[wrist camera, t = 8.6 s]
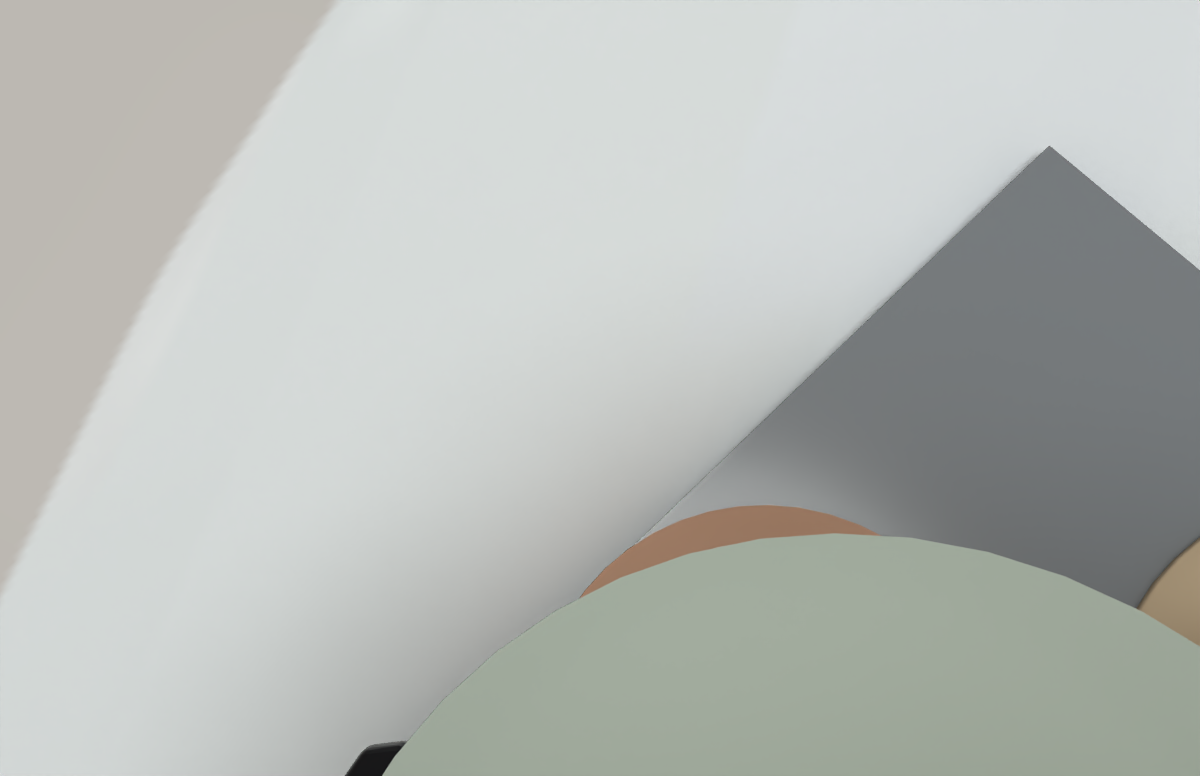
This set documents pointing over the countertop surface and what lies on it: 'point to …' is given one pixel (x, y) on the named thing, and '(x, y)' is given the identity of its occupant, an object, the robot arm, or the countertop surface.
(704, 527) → the ramekin
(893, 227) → the countertop surface
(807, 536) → the cloche
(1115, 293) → the slate board
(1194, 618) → the cork mat
